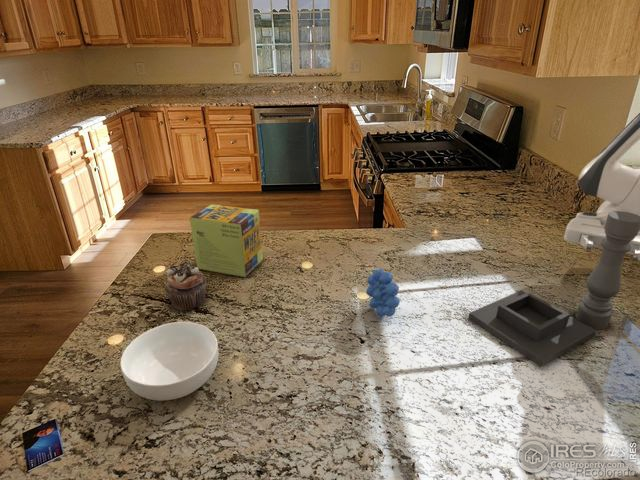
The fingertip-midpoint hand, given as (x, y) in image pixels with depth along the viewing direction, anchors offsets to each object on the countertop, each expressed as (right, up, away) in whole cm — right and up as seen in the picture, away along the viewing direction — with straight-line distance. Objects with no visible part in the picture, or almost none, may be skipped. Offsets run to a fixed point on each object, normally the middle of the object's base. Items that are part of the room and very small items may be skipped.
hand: (612, 251), depth 96 cm
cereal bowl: (-93, -24, -16) cm, 97 cm away
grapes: (-51, -14, +1) cm, 53 cm away
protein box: (-91, -4, +23) cm, 94 cm away
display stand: (-20, -16, -3) cm, 26 cm away
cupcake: (-98, -12, +7) cm, 99 cm away
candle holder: (-6, -15, -2) cm, 16 cm away
